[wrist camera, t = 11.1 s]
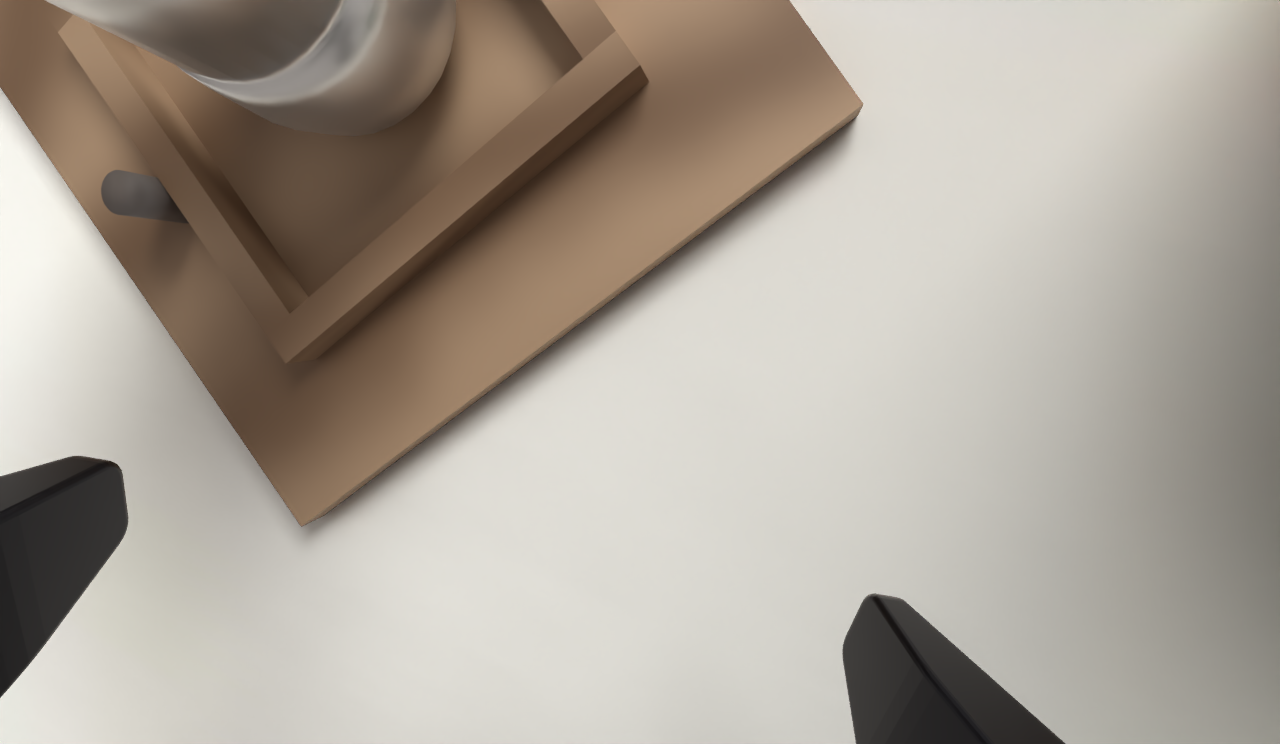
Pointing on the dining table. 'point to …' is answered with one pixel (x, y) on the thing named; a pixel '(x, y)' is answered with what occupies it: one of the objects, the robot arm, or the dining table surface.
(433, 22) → the plastic bottle
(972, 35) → the dining table surface
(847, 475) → the dining table surface
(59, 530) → the robot arm
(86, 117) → the walnut bottle stand
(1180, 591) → the dining table surface
